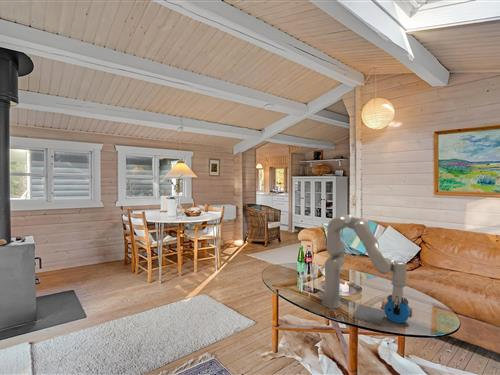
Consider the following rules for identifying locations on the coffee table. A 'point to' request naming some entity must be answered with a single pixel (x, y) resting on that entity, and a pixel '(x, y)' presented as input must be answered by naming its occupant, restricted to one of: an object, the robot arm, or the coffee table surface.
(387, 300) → the tan egg shape
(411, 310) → the walnut block
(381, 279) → the coffee table surface
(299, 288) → the coffee table surface
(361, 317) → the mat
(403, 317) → the alarm clock
